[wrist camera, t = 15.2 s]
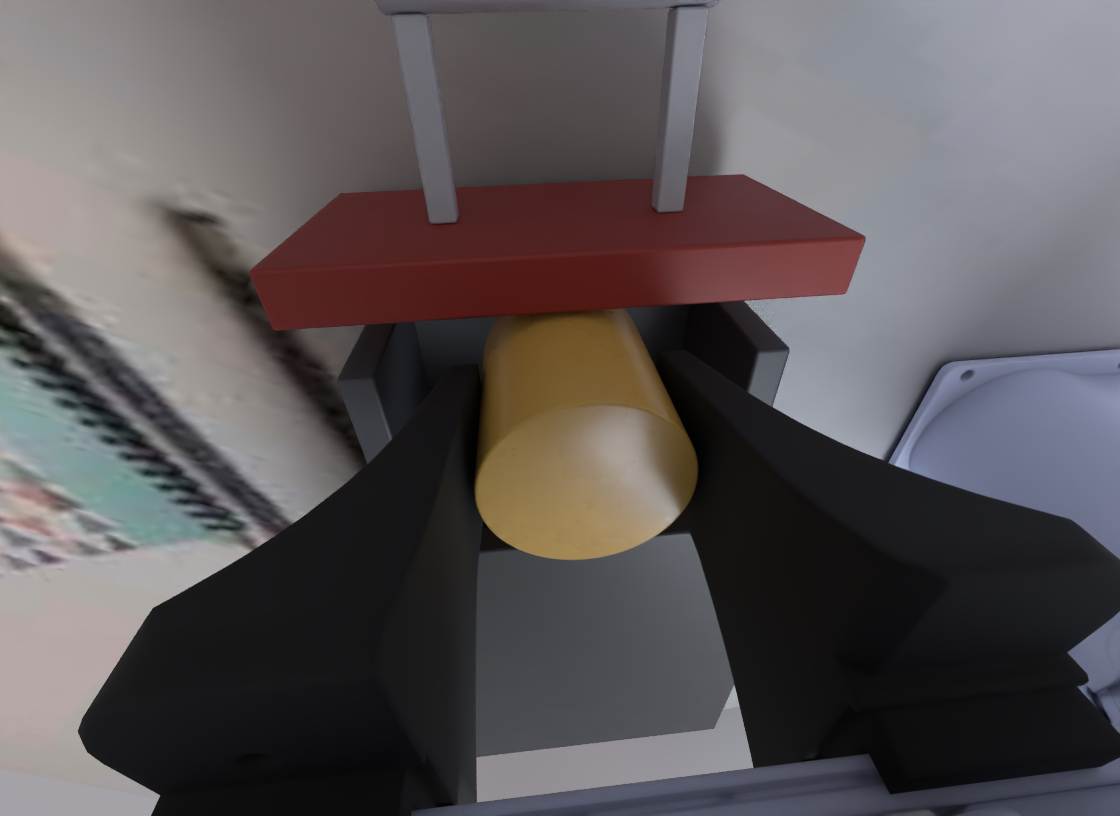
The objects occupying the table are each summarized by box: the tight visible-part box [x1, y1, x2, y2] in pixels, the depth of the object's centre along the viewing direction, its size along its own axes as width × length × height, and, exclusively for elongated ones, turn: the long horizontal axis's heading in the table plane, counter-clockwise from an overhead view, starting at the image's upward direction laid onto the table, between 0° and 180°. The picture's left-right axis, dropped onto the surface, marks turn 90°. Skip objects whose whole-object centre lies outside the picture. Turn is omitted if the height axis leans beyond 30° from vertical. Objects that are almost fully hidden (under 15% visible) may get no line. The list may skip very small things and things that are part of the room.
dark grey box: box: [364, 461, 734, 757], centre depth 20 cm, size 15×13×8 cm
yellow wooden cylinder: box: [474, 308, 698, 560], centre depth 10 cm, size 4×4×4 cm
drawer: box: [249, 0, 865, 529], centre depth 13 cm, size 18×11×6 cm, turn 0°
